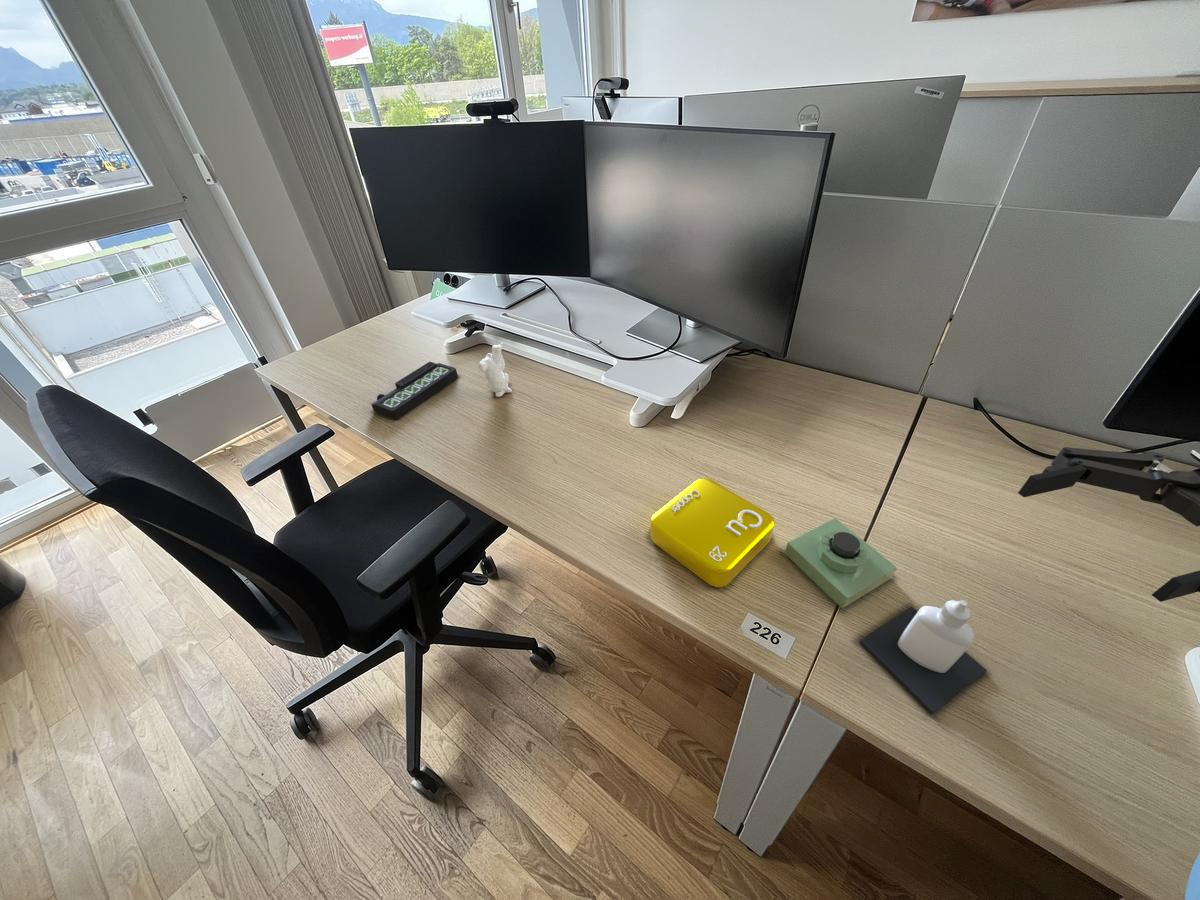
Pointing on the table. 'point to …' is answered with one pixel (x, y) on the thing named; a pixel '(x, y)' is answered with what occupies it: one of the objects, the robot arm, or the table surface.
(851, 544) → the black round knob
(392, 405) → the digital display
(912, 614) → the slate mat
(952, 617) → the eye dropper bottle
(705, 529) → the element tile
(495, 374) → the koala figurine
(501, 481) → the table surface
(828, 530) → the button housing
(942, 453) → the table surface
